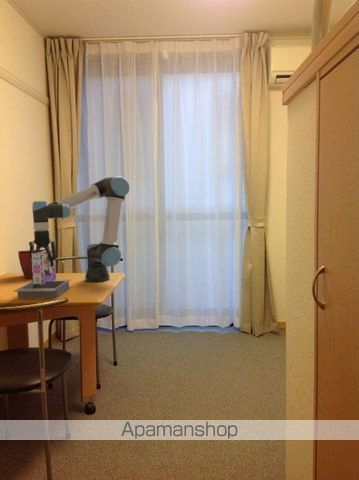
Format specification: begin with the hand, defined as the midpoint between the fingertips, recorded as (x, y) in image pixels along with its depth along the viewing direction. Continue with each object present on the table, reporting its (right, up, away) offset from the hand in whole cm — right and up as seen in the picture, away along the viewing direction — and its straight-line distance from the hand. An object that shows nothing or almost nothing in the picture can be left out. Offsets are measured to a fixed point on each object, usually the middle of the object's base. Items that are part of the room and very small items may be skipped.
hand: (44, 272), depth 201 cm
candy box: (0, -5, +1) cm, 5 cm away
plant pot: (-24, -7, +49) cm, 55 cm away
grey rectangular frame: (0, -11, +1) cm, 11 cm away
